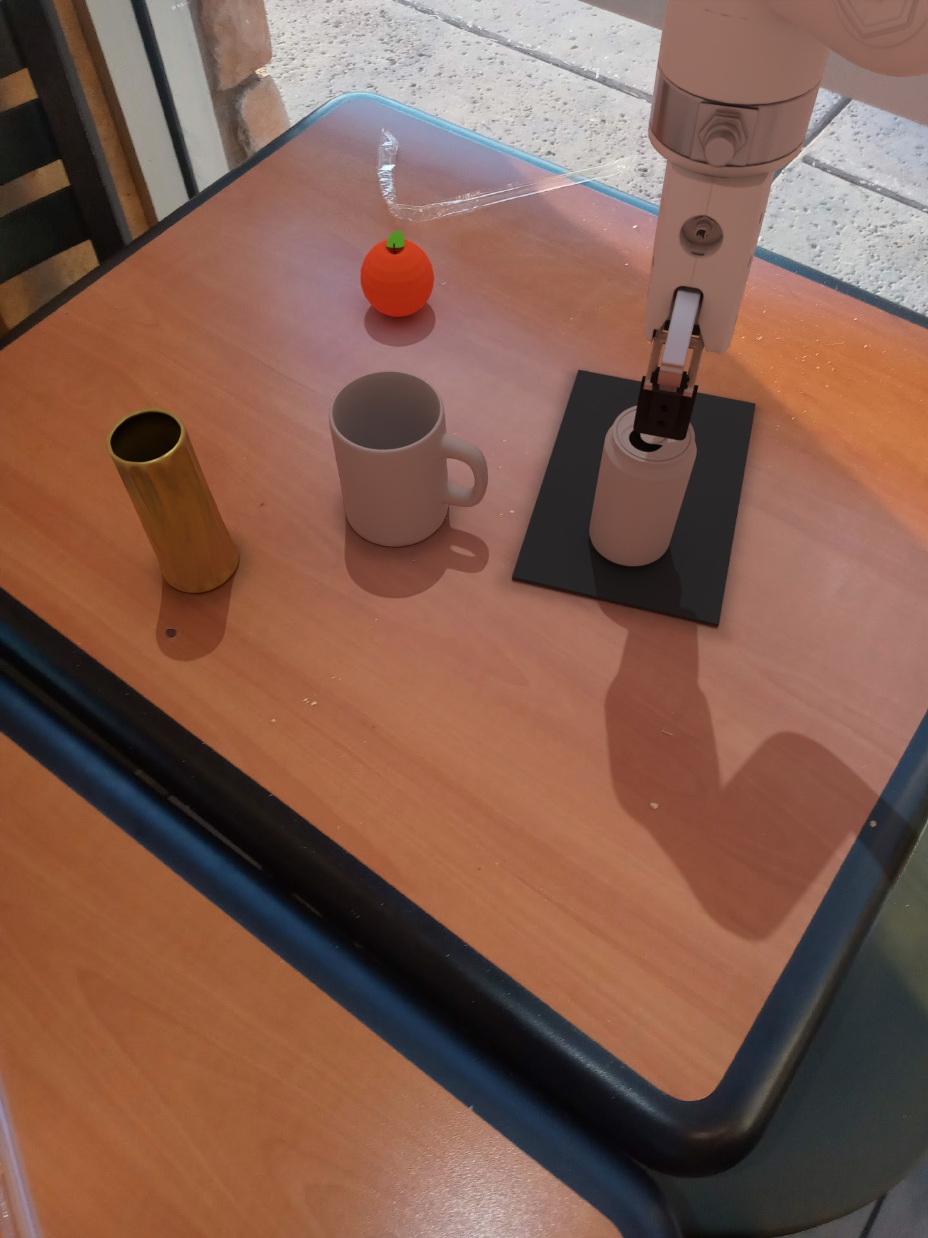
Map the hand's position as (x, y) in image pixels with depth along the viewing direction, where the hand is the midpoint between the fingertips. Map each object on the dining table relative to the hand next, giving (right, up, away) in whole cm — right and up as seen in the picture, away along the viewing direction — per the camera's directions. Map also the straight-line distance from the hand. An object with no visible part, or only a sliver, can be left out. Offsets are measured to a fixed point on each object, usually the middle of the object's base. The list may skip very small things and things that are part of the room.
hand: (672, 379), depth 58 cm
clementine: (-19, +15, +31) cm, 40 cm away
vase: (-34, -11, +14) cm, 39 cm away
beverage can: (0, -9, +15) cm, 17 cm away
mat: (+2, -4, +18) cm, 18 cm away
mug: (-17, -7, +17) cm, 25 cm away
